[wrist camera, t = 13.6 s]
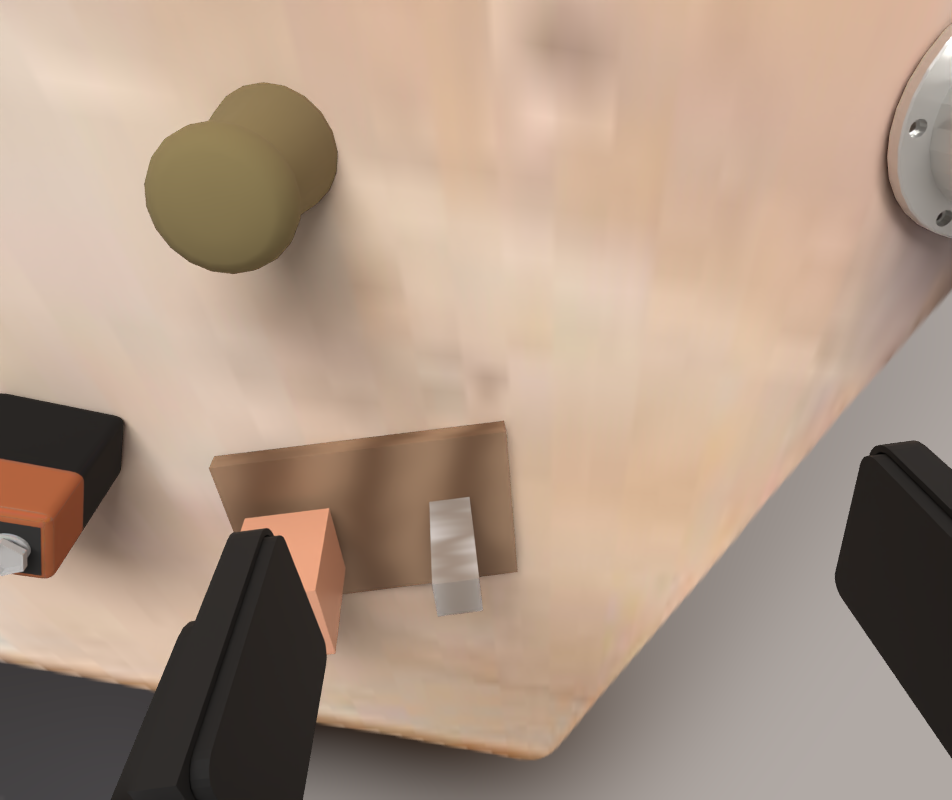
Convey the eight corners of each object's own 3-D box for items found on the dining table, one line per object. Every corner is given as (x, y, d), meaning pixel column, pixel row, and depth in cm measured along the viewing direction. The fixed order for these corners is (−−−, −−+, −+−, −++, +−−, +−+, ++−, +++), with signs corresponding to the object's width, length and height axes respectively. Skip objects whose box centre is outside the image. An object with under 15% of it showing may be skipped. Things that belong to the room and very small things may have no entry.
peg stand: (503, 421, 40) (523, 507, 33) (515, 559, 46) (533, 656, 39) (214, 456, 39) (171, 552, 32) (265, 591, 46) (238, 695, 39)
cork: (323, 230, 33) (288, 316, 24) (200, 194, 32) (111, 271, 22) (350, 107, 30) (321, 150, 21) (216, 62, 29) (120, 86, 19)
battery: (123, 471, 40) (43, 597, 31) (0, 449, 38) (-120, 575, 29) (126, 414, 37) (42, 532, 29) (-4, 387, 36) (-133, 504, 27)
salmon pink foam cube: (329, 507, 39) (315, 590, 34) (345, 568, 42) (335, 653, 37) (244, 518, 39) (216, 602, 34) (266, 577, 42) (244, 665, 36)
